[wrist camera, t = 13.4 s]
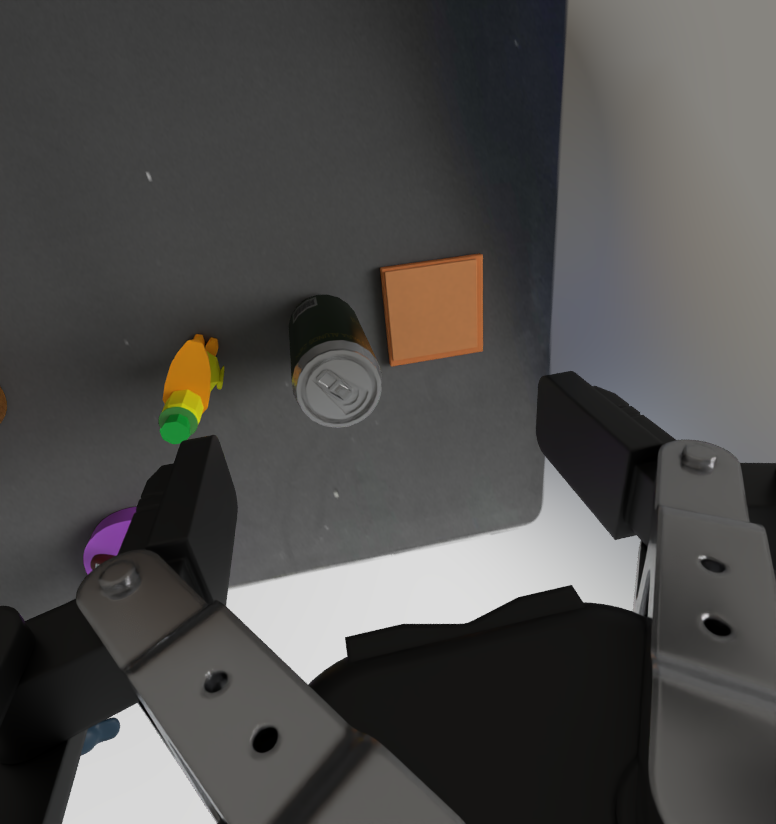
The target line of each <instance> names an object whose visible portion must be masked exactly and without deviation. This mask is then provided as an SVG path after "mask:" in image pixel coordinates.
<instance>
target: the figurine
mask: <svg viewBox="0 0 776 824" xmlns="http://www.w3.org/2000/svg"><path fill="white" fill-rule="evenodd" d="M135 512H136V507H131V508H127V509H123V510H120V511H117V512H115V513H113V514H111V515H109V516H108V517H106V518H105V519H103V520H102V521H101V522H100V523H99V524H98V525H97V526H96V528H95V530H94V532H93V534H92V536H91V538H90V540H89V542H88V544H87V546H86V548H85V551H84V555H83V560H84V567H85V570H86V572H87V574H89V573H90V572H91V571H92V570H93V569H95V568H96V567H97V566H98V565H100V564H101V563H103V562H104V561H106V560H108V559H110V558H112V557H114V556H116V555H117V554H118V552H119V549H120V547H121V544H122V542H123V539H124V537H125V535H126V532H127V530H128V527H129V525H130V522H131V520H132V517H133V515H134V513H135ZM119 729H120V723H119V721H118V719H116V718H109V719H106V720H104V721H102V722H100V723H98V724H96V725H94V726H92V727H91V728H89V729H88V730H87V734H86V738H85V741H84V745H83V749H82V752H81V755H84V754H86V753H87V752H89V751H90V750H92V748H93V747H94V746H95V745H96V744H98V743H100V742H103V741H106V740H109V739H112V738H114V737H115V736H116V735H117V734H118V732H119Z"/></svg>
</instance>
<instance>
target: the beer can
mask: <svg viewBox="0 0 776 824" xmlns="http://www.w3.org/2000/svg"><path fill="white" fill-rule="evenodd" d="M289 340H290V358H291V376H292V387H293V394H294V396H295V398H296V400H297V402H298V405H299V406H300V407H301V408H302V410H303V412H304V413H305V414H306V415H307V416H308V417H309V418H310V419H311V420H313V421H315V422H317V423H319V424H321V425H323V426H329V427H334V428H337V427H347V426H350V425H353V424H356V423H358V422H360V421H362V420H363V419H364V418H366V417H367V416H368V415H370V414H371V412H372V411H373V410H374V408H375V407H376V405H377V404H378V401H379V398H380V395H381V387H382V372H381V369H380V367H379V364H378V361H377V359H376V357H375V355H374V353H373V351H372V348H371V346H370V344H369V342H368V340H367V338H366V336H365V333H364V331H363V329H362V327H361V325H360V323H359V321H358V319H357V316H356V314H355V312H354V311H353V310H352V308H351V307H350V306H349V305H348V303H346V302H344V301H343V300H341V299H340V298H338V297H334V296H330V295H316V296H313V297H311V298H308V299H306V300H304V301H303V302H302V303H301V304H299V305H298V306H297V307H296V309H295V310H294V312H293V314H292V315H291V319H290V323H289Z"/></svg>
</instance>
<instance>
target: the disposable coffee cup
mask: <svg viewBox="0 0 776 824" xmlns="http://www.w3.org/2000/svg"><path fill="white" fill-rule="evenodd" d="M6 411H7V401H6V398H5V394H4V392H3V390H2V389H1V387H0V423H1V422H2V421H3V419H4V417H5V415H6Z"/></svg>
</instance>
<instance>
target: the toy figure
mask: <svg viewBox="0 0 776 824" xmlns="http://www.w3.org/2000/svg"><path fill="white" fill-rule="evenodd" d="M204 346H205V341H204V338H203V335H200V334H196V335H195V337H194V339H193V340H188V341H187V342H186V343H185V344H184V346H183V347H182V348H181V349H180V350H179V351H178V353H177V354H176V356H175V358H174V360H173V361H172V363H171V365H170V368H169V372H168V375H167V379H166V382H165V387H164V394H163V401H164V403H165V406H164V408H163V410H162V412H161V414H160V416H159V426H160V427H161V429H160V433H161V436H162V438H163V440H165V441H168V442H170V443H172V444H179V443H181V442H182V441H184V440H187V439H188V437H189V436H190V435H192V434H193V433H194V432H195V431H196V429H197V426H198V423H199V422H200V419H201V415H202V413H203V412H204V411H205V410H206V409H207V408H208V402H209V397H210V392H211V391H212V389H213V388H214V386H215V385H216V384H217V388H218V389H221V388H222V385H223V377H224V366H223V367H222V369H221V370H220V367H219V363H218V360H217V357H215V356H216V353H217V351H218V341H217V339H216V338H212V337H211V338H210V339H209V341H208V342H207V344H206V347H204Z"/></svg>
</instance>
